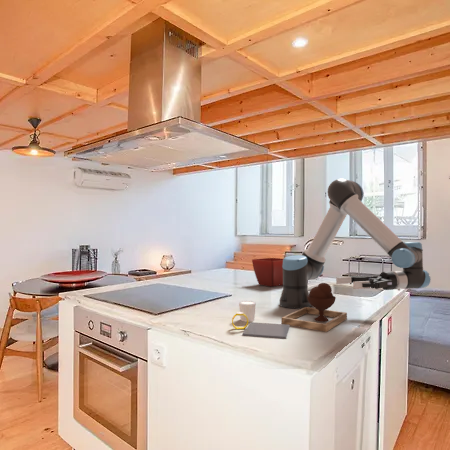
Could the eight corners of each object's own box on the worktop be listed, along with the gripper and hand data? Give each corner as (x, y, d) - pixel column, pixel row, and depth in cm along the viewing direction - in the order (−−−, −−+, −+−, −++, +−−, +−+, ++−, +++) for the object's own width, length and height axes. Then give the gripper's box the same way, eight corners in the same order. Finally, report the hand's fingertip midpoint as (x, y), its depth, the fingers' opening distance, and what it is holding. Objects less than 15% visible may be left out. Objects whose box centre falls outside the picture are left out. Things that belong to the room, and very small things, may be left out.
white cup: (245, 316, 145) (245, 300, 145) (259, 319, 140) (259, 302, 140) (235, 320, 139) (235, 302, 139) (249, 323, 135) (249, 305, 135)
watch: (247, 328, 129) (248, 312, 129) (248, 330, 126) (248, 313, 126) (231, 327, 128) (232, 311, 129) (231, 329, 126) (232, 313, 126)
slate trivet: (242, 335, 119) (242, 333, 119) (250, 323, 134) (250, 322, 134) (286, 338, 115) (286, 336, 115) (289, 326, 130) (289, 324, 130)
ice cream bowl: (329, 316, 144) (329, 280, 144) (339, 323, 132) (339, 284, 133) (304, 316, 143) (304, 280, 143) (312, 324, 132) (311, 285, 132)
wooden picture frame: (281, 323, 133) (281, 317, 133) (305, 312, 151) (305, 306, 151) (326, 331, 122) (326, 325, 122) (346, 318, 140) (346, 312, 140)
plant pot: (271, 281, 238) (271, 257, 239) (293, 285, 224) (292, 259, 224) (251, 284, 226) (251, 259, 226) (273, 288, 212) (272, 261, 212)
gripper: (413, 294, 130) (362, 297, 127) (374, 285, 155) (330, 287, 151) (413, 274, 131) (361, 277, 127) (374, 268, 155) (330, 270, 152)
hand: (344, 282), depth 139 cm, fingers open, 13 cm apart
